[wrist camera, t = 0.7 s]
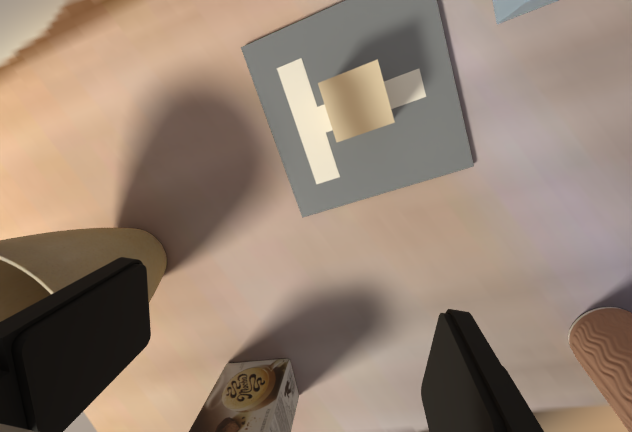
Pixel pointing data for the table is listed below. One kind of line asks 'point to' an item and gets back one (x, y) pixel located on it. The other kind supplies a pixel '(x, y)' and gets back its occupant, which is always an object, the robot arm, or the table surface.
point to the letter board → (402, 90)
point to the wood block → (356, 101)
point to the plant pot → (69, 262)
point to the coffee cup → (607, 355)
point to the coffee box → (251, 399)
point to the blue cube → (516, 8)
